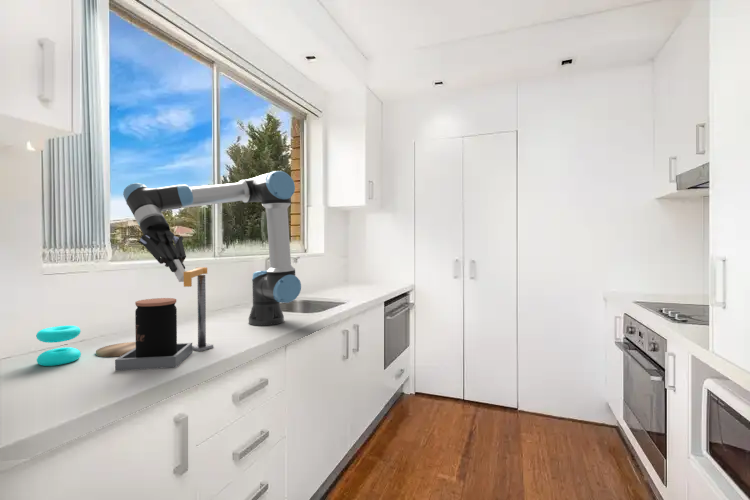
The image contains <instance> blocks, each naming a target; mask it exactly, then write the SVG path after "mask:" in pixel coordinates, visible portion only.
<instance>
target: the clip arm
mask: <svg viewBox="0 0 750 500" xmlns="http://www.w3.org/2000/svg"><path fill="white" fill-rule="evenodd" d="M185 271H186V272H184V282H183V287H184V288H186V287H188V288H189V287H193V285H192V283H193V282H192V280H193V278H195V277H197V276H198V275H207V274H208V267H206V266H205V267H204V266H203V267H199V266H198V267H195V268H194V269H190V270H185Z"/></svg>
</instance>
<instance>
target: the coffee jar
mask: <svg viewBox="0 0 750 500" xmlns="http://www.w3.org/2000/svg"><path fill="white" fill-rule="evenodd" d="M176 303H177V299H176V298H171V297H161V298H158V297H157V298H145V299H141V300H136V301H135V303H134V304H135V307H137V308H136V309H135V311H134V312H135V318H134V321H135V322H134V325H135V342H136V358H142V357H162V356H174V355H175V354H176V353H177V343H178V332H177V331H178V329H177V328H178V325H177V323H178V322H177V319H178V313H177V312H178V311H177V306H176V305H175V304H176Z"/></svg>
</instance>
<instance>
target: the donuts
mask: <svg viewBox="0 0 750 500" xmlns="http://www.w3.org/2000/svg"><path fill="white" fill-rule="evenodd" d="M81 332H82V331H81V328H80V326H77V325H58V326H50V327H45V328H43V329H40V330H39V331H37V333H36V339H37V340H38V341H39V342H42V343H48V344H49V343H61V342H62V343H63V342H67V341H71V340H73V339H75V338H77V337H78V336H79V335H80V334H81ZM81 355H82V353H81V351H80V350H79V349H78V348H75V347H70V346H69V347H57V348H53V349H49V350H48V349H47V350H45V351H43V352H41V353H40V354H39V355H38V356H37V358H36V363H37V364H38V365H40V366H44V367H52V366H54V367H55V366H61V365H62V366H63V365H65V364H70V363H73V362H75V361H77V360H79V359H80V358H81Z"/></svg>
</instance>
